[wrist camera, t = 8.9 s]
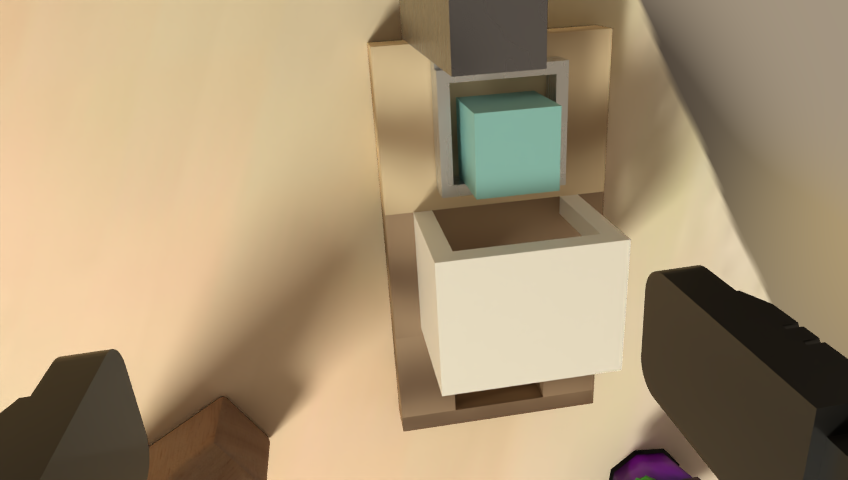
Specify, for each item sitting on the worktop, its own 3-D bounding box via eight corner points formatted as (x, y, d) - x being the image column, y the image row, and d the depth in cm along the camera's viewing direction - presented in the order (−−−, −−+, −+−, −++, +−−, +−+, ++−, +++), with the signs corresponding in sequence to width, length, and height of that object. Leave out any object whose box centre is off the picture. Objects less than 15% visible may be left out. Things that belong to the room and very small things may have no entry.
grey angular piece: (397, -31, 30) (447, -30, 19) (560, -41, 31) (698, -46, 20) (412, 191, 34) (460, 297, 23) (555, 176, 35) (667, 271, 24)
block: (455, 97, 32) (474, 113, 29) (533, 90, 33) (561, 105, 29) (458, 174, 34) (476, 199, 30) (533, 167, 35) (559, 190, 31)
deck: (367, 42, 33) (370, 47, 31) (596, 25, 34) (612, 28, 32) (399, 411, 42) (403, 431, 40) (580, 384, 43) (592, 402, 41)
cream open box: (413, 212, 34) (434, 263, 28) (577, 194, 36) (631, 239, 30) (421, 328, 37) (442, 396, 31) (573, 307, 38) (621, 370, 32)
